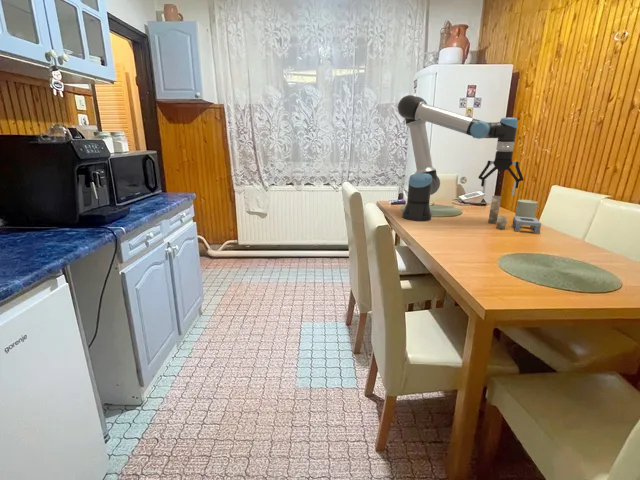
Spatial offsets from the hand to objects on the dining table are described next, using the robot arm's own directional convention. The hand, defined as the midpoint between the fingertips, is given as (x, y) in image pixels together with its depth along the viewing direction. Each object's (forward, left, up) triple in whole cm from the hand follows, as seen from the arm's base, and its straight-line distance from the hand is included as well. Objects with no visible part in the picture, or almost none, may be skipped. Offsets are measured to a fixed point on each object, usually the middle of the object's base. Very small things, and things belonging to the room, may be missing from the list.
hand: (497, 193), depth 177 cm
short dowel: (+3, -11, -15) cm, 19 cm away
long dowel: (0, 0, -15) cm, 15 cm away
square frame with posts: (+14, -8, -15) cm, 22 cm away
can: (+15, +7, -16) cm, 23 cm away
